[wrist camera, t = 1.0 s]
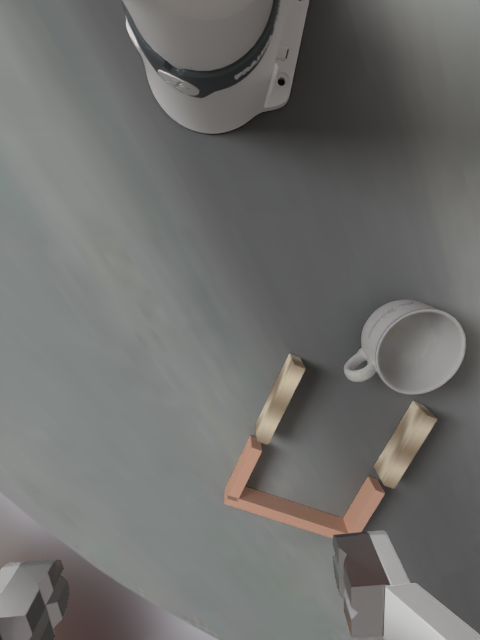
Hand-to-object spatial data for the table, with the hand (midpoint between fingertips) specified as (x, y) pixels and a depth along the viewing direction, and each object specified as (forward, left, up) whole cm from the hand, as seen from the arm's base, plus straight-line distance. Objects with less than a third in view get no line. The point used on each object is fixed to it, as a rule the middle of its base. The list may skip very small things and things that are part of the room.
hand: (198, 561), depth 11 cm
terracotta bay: (+23, +22, -38) cm, 50 cm away
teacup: (-3, +22, -38) cm, 44 cm away
